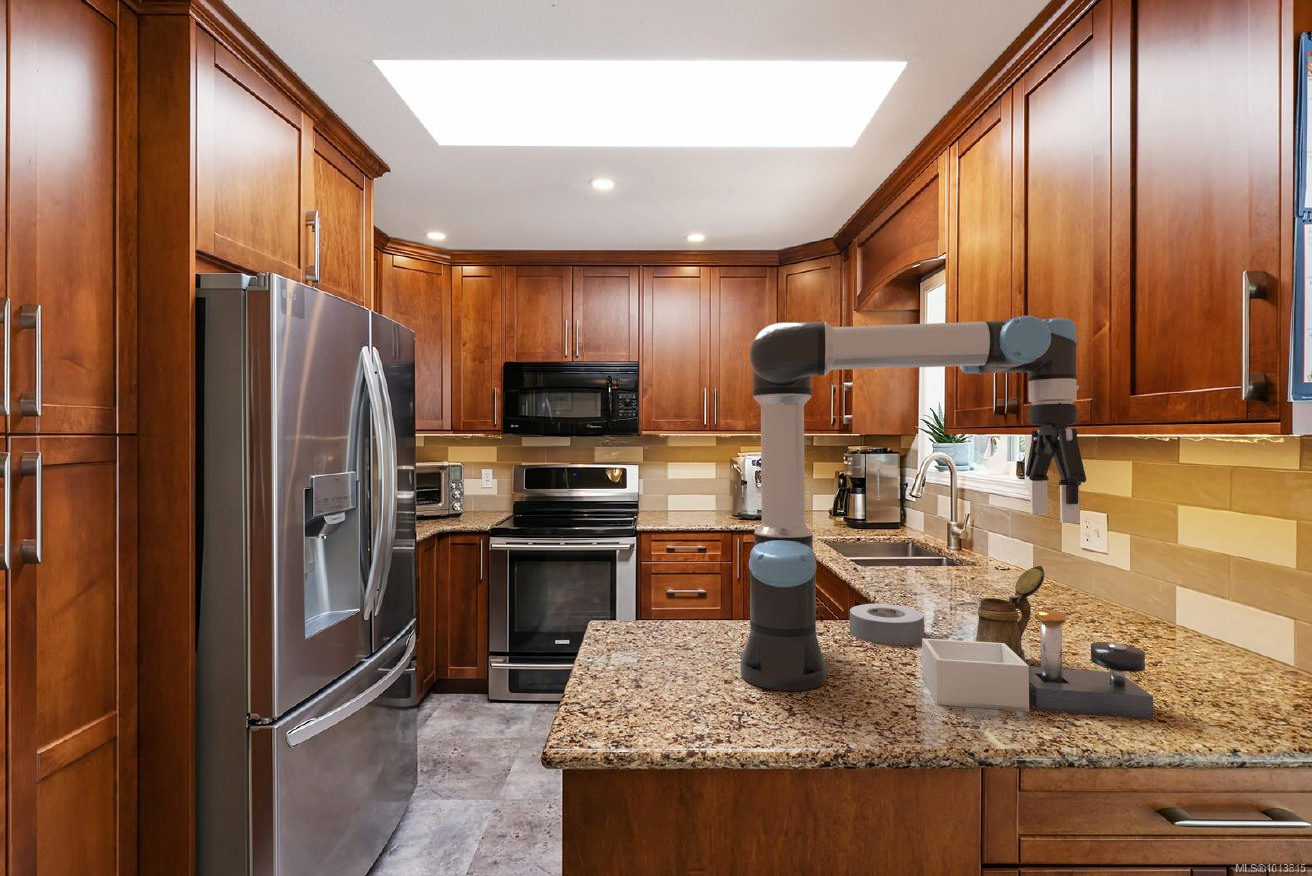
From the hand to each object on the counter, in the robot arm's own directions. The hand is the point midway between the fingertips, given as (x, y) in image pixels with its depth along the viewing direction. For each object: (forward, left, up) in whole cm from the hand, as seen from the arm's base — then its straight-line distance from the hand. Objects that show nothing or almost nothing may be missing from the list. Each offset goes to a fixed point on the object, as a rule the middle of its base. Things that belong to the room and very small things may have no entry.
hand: (1053, 518), depth 116 cm
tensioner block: (-2, -15, -28) cm, 32 cm away
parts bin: (-18, -15, -28) cm, 37 cm away
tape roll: (-27, +17, -28) cm, 43 cm away
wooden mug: (-6, +5, -28) cm, 29 cm away
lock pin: (-6, -15, -28) cm, 32 cm away
